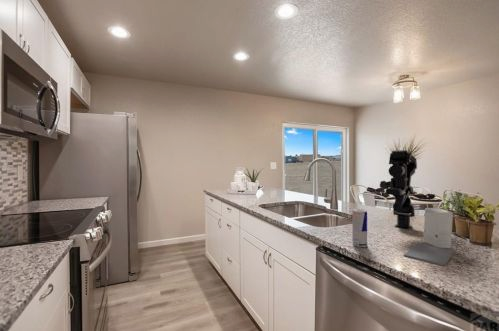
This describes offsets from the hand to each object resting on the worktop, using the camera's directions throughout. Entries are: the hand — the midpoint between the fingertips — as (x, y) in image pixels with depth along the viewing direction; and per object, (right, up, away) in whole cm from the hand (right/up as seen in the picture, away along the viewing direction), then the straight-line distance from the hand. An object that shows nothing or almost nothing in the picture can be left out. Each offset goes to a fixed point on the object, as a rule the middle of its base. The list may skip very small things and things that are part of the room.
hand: (399, 207), depth 120 cm
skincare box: (+4, -13, -18) cm, 23 cm away
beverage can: (-28, -13, -18) cm, 36 cm away
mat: (-6, -13, -28) cm, 31 cm away
